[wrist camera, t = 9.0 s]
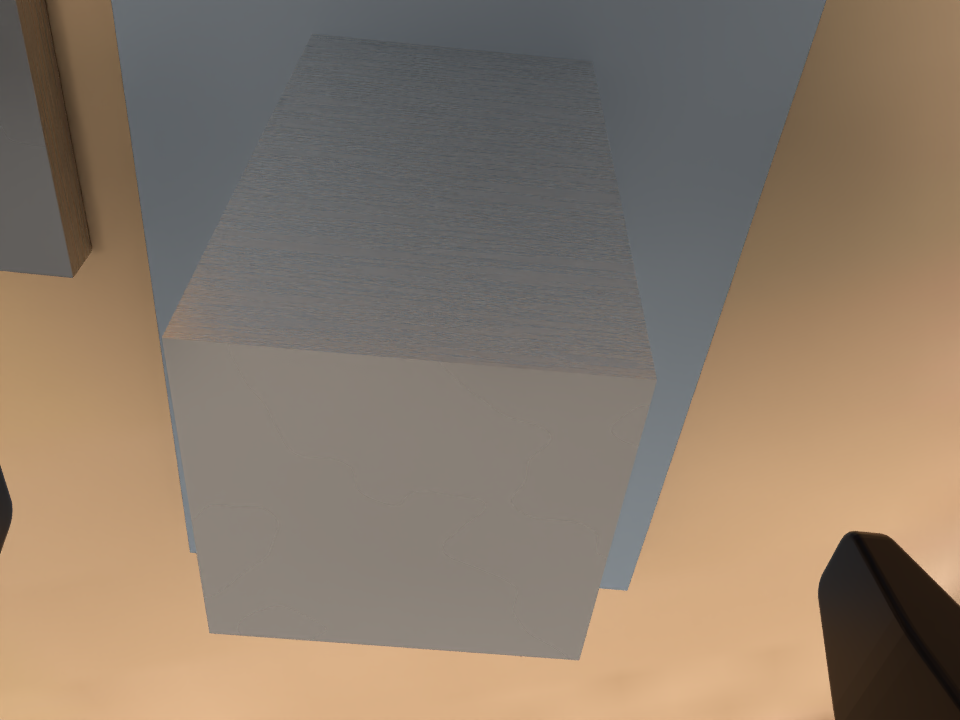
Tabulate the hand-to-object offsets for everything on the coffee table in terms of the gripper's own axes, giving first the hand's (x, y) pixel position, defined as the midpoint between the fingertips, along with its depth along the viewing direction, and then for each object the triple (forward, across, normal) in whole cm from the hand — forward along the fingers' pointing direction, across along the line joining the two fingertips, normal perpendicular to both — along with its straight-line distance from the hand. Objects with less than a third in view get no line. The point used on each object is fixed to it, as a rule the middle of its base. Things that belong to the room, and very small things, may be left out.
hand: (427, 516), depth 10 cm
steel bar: (+8, 0, 0) cm, 8 cm away
